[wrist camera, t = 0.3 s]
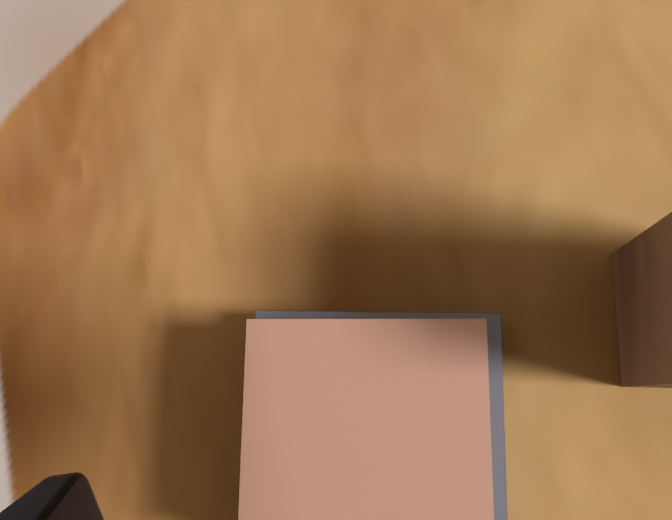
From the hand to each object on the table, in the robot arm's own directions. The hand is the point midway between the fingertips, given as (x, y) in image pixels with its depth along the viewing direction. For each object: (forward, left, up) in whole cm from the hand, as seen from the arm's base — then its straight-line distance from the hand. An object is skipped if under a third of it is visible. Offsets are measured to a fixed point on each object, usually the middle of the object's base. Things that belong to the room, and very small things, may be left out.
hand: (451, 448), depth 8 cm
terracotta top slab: (+1, +2, -13) cm, 13 cm away
